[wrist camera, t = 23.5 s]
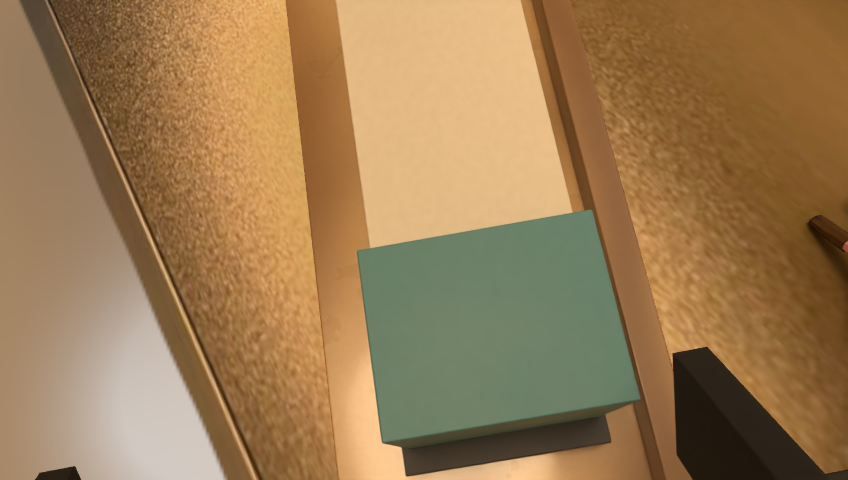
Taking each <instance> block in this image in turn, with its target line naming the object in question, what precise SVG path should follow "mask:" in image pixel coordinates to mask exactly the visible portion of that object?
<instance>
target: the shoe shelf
mask: <svg viewBox="0 0 848 480" xmlns="http://www.w3.org/2000/svg"><path fill="white" fill-rule="evenodd" d="M521 4H522V8H523V12H524V17H525V21H526V25H527V29H528V33H529V37H530V41H531V45H532V49H533V53H534V57H535V61H536V65H537V69H538V73H539V77H540V81H541V86H542V90H543V94H544V98H545V102H546V106H547V110H548V114H549V118H550V122H551V126H552V130H553V134H554V138H555V142H556V146H557V150H558V155H559V159H560V163H561V167H562V171H563V175H564V179H565V183H566V187H567V191H568V195H569V199H570V203H571V207H572V211H573V212H579V211H585V210H592V211H593V215H594V219H595V223H596V227H597V231H598V235H599V239H600V242H601V246H602V250H603V254H604V258H605V262H606V266H607V270H608V274H609V277H610V281H611V285H612V289H613V293H614V297H615V301H616V305H617V309H618V313H619V316H620V320H621V324H622V328H623V332H624V336H625V340H626V344H627V348H628V351H629V355H630V359H631V363H632V367H633V371H634V375H635V379H636V383H637V387H638V390H639V394H640V400H639V401H637V402H635V403H632V404H630V405H627V406H625V407H622V408H620V409H617V410H615V411H612V412H610V413H607V414H605V415H606V419H607V423H608V428H609V432H610V436H611V440H612V441H611V443H606V444H600V445H594V446H588V447H582V448H576V449H570V450H564V451H558V452H552V453H546V454H540V455H534V456H528V457H522V458H516V459H510V460H504V461H498V462H492V463H486V464H480V465H474V466H468V467H462V468H456V469H450V470H444V471H438V472H432V473H426V474H420V475H414V476H408V477H407V476H406V475H405V468H404V461H403V454H402V447H398V446H393V445H388V444H384V443H382V441H381V433H380V425H379V418H378V410H377V403H376V395H375V387H374V380H373V372H372V364H371V357H370V349H369V342H368V334H367V326H366V319H365V311H364V304H363V296H362V288H361V281H360V273H359V265H358V258H357V251H358V250H363V249H369V248H370V247H369V240H368V233H367V226H366V218H365V211H364V204H363V197H362V189H361V182H360V175H359V168H358V160H357V153H356V146H355V139H354V131H353V124H352V117H351V110H350V103H349V95H348V88H347V81H346V74H345V66H344V59H343V52H342V45H341V37H340V30H339V23H338V16H337V8H336V1H335V0H286V8H287V17H288V26H289V35H290V45H291V54H292V63H293V72H294V81H295V90H296V99H297V108H298V118H299V127H300V136H301V145H302V154H303V163H304V172H305V182H306V191H307V200H308V209H309V218H310V227H311V236H312V246H313V255H314V264H315V273H316V282H317V291H318V300H319V310H320V319H321V328H322V337H323V346H324V355H325V364H326V374H327V383H328V392H329V401H330V410H331V419H332V428H333V438H334V447H335V456H336V465H337V474H338V480H693V479H692V478H691V476H690V475H689V473H688V472H687V470H686V469H685V467H684V466H683V464H682V463H681V461H680V459H679V458H678V456H677V453H676V427H675V402H674V376H673V368H672V364H671V361H670V357H669V354H668V350H667V346H666V343H665V339H664V335H663V332H662V328H661V325H660V321H659V317H658V314H657V310H656V306H655V303H654V299H653V296H652V292H651V288H650V285H649V281H648V277H647V274H646V270H645V267H644V263H643V259H642V256H641V252H640V249H639V245H638V241H637V238H636V234H635V230H634V227H633V223H632V220H631V216H630V212H629V209H628V205H627V201H626V198H625V194H624V191H623V187H622V183H621V180H620V176H619V172H618V169H617V165H616V162H615V158H614V154H613V151H612V147H611V143H610V140H609V136H608V133H607V129H606V125H605V122H604V118H603V115H602V111H601V107H600V104H599V100H598V96H597V93H596V89H595V86H594V82H593V78H592V75H591V71H590V67H589V64H588V60H587V57H586V53H585V49H584V46H583V42H582V38H581V35H580V31H579V28H578V24H577V20H576V17H575V13H574V10H573V6H572V2H571V0H521Z"/></svg>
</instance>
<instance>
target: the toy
mask: <svg viewBox="0 0 848 480" xmlns="http://www.w3.org/2000/svg"><path fill="white" fill-rule="evenodd" d="M809 224H810V225H811V226H812V227H813V228H815V229H816V230H817V231H818V232H819V233H821V234H822V235H823V236H824V237H825V238H827V239H828V240H829V241H830V242H832V243H833V244H834V245H835V246H837V247H838V248H839V249H841V250H842V251H843V252H846V253H848V232H846V231H845V230H843V229H842V228H840V227H839V226H837V225H836V224H834V223H833V222H831V221H830V220H828V219H827V218H825V217H824V216H822V215H818V216H815V217H813V218H812V219H810V221H809Z"/></svg>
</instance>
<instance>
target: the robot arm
mask: <svg viewBox="0 0 848 480" xmlns="http://www.w3.org/2000/svg"><path fill="white" fill-rule="evenodd" d="M673 376H674V402H675V427H676V453H677V456H678V458H679V459H680V461H681V463H682V464H683V466H684V467H685V469H686V470H687V472H688V473H689V475H690V476H691V478H692V479H693V480H848V470H844V471H838V472H833V473H828V474H825V473H824V472H823V471H822V470H821V469H820V468H819V467H818V466H817V465H816V464H815V463H814V461H813V460H812V459H811V458H810V457H809V456H808V455H807V454H806V453H805V452H804V451H803V450H802V449H801V447H800V446H799V445H798V444H797V443H796V442H795V441H794V440H793V439H792V438H791V437H790V436H789V435H788V433H787V432H786V431H785V430H784V429H783V428H782V427H781V426H780V425H779V424H778V423H777V422H776V420H775V419H774V418H773V417H772V416H771V415H770V414H769V413H768V412H767V411H766V410H765V409H764V408H763V406H762V405H761V404H760V403H759V402H758V401H757V400H756V399H755V398H754V397H753V396H752V395H751V394H750V392H749V391H748V390H747V389H746V388H745V387H744V386H743V385H742V384H741V383H740V382H739V381H738V380H737V378H736V377H735V376H734V375H733V374H732V373H731V372H730V371H729V370H728V369H727V368H726V367H725V365H724V364H723V363H722V362H721V361H720V360H719V359H718V358H717V357H716V356H715V355H714V354H713V353H712V351H711V350H710V349H709V348H708V347H703V348H698V349H693V350H687V351H682V352H677V353H673ZM35 480H81V478H80V476H79V474H78V472H77V470H76V467H75V466H73V467H68V468H63V469H58V470H52V471H47V472H42V473H39V475H38V476H37V478H36V479H35Z"/></svg>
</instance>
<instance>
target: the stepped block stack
mask: <svg viewBox="0 0 848 480" xmlns="http://www.w3.org/2000/svg"><path fill="white" fill-rule="evenodd" d="M335 1H336V8H337V16H338V23H339V30H340V37H341V45H342V52H343V59H344V66H345V74H346V81H347V88H348V95H349V103H350V110H351V117H352V124H353V131H354V139H355V146H356V153H357V160H358V168H359V175H360V182H361V189H362V197H363V204H364V211H365V218H366V226H367V233H368V240H369V247H370V248H369V249H363V250H358V251H357V258H358V265H359V273H360V281H361V288H362V296H363V304H364V311H365V319H366V326H367V334H368V342H369V349H370V357H371V364H372V372H373V380H374V387H375V395H376V403H377V410H378V418H379V425H380V433H381V441H382V443H384V444H388V445H393V446H398V447H402V454H403V461H404V468H405V475H406V476H407V477H408V476H414V475H420V474H426V473H432V472H438V471H444V470H450V469H456V468H462V467H468V466H474V465H480V464H486V463H492V462H498V461H504V460H510V459H516V458H522V457H528V456H534V455H540V454H546V453H552V452H558V451H564V450H570V449H576V448H582V447H588V446H594V445H600V444H606V443H611V441H612V440H611V436H610V432H609V428H608V423H607V419H606V415H605V414H607V413H610V412H612V411H615V410H617V409H620V408H622V407H625V406H627V405H630V404H632V403H635V402H637V401H639V400H640V394H639V390H638V387H637V383H636V379H635V375H634V371H633V367H632V363H631V359H630V355H629V351H628V348H627V344H626V340H625V336H624V332H623V328H622V324H621V320H620V316H619V313H618V309H617V305H616V301H615V297H614V293H613V289H612V285H611V281H610V277H609V274H608V270H607V266H606V262H605V258H604V254H603V250H602V246H601V242H600V239H599V235H598V231H597V227H596V223H595V219H594V215H593V211H592V210H585V211H579V212H573V211H572V207H571V203H570V199H569V195H568V191H567V187H566V183H565V179H564V175H563V171H562V167H561V163H560V159H559V155H558V150H557V146H556V142H555V138H554V134H553V130H552V126H551V122H550V118H549V114H548V110H547V106H546V102H545V98H544V94H543V90H542V86H541V81H540V77H539V73H538V69H537V65H536V61H535V57H534V53H533V49H532V45H531V41H530V37H529V33H528V29H527V25H526V21H525V17H524V12H523V8H522V4H521V0H335Z"/></svg>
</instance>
